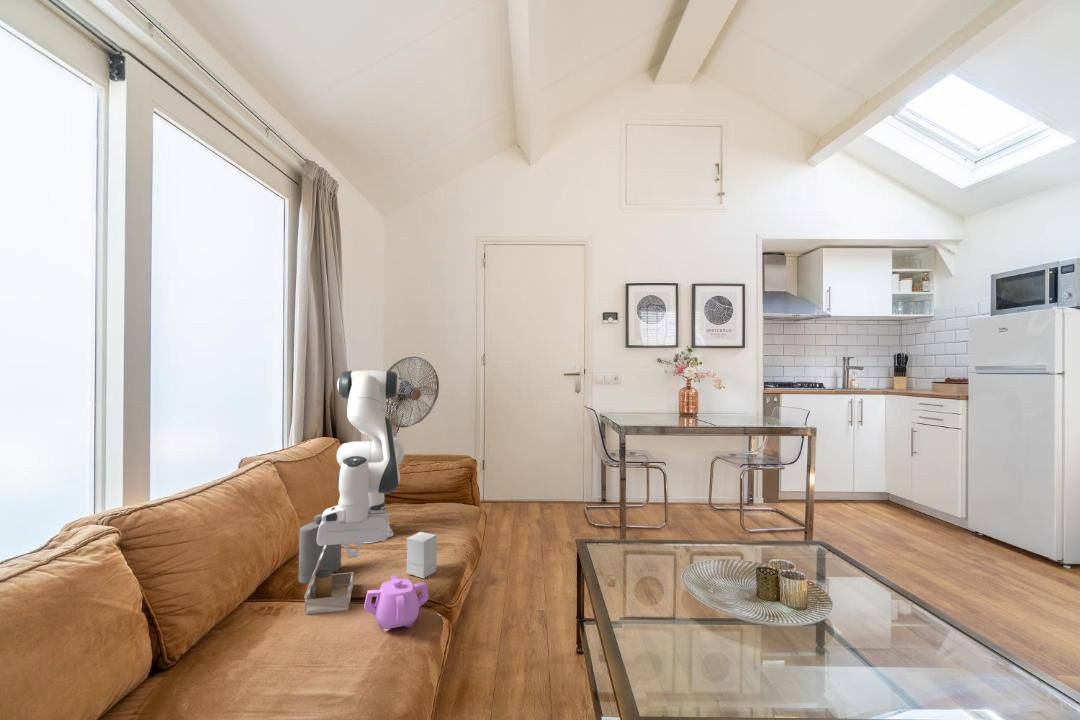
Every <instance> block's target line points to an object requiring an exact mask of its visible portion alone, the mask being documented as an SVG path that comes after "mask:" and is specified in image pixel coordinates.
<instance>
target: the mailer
mask: <svg viewBox="0 0 1080 720" xmlns="http://www.w3.org/2000/svg"><path fill="white" fill-rule="evenodd" d="M353 586H354V572H353V571H351V572H343V573H340V572H339V573H332V592H331V597H325V598H316V599H315V593H316V576H314V578H313V581H312V583H311V586H310V588H309V591H308V593H307V596H306V598H304V616H306V615H313V614H321V613H323V614H324V613H332V612H333V613H334V612H343V611H348V610H349V606H350V603H351V597H352V591H353V589H354V587H353Z"/></svg>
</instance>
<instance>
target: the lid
mask: <svg viewBox="0 0 1080 720" xmlns="http://www.w3.org/2000/svg"><path fill="white" fill-rule="evenodd" d="M325 548H326V545H324V547H323V550H322V552H321V555H320V557H319V560H318V562H317V565H316V567H315V570H314V572H313V575H312V578H311V580H310V582H309V583H308V586H307V589H306V591H305V594H304V596H303V599H306V596H307V594H308V591H309V588H310V586H311V583H312V581H313V578H314V576H315V573H316V571H317V568H318V566H319V563H320V561H321V558H322V556H323V553H324V551H325Z"/></svg>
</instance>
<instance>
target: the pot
mask: <svg viewBox="0 0 1080 720" xmlns="http://www.w3.org/2000/svg"><path fill="white" fill-rule="evenodd" d="M418 590H421V591H420V592H421V594H420V595H419V596H418V593H417V591H418ZM428 590H429V589H428V587H427V583H426V581H422V582H417V583H413V582H412V580H410V579H408V578H399V577H398V575H397V574H394V575H393V574H392V575H391V576H390V580H386V581H384V582H382V584H381V586H380V588H379V589H370V590H367V592H366V595H365V596H366V597H365V601H364V606H363V610H364V611H365V612H368V613H370V615H373V616H374V618H375V620H376V622H377V623H378V625H379V626H380V627H381V628H382V629H383V628H385V629H390V628H392V629H395V628H400V627H405V626H406V627H409V628H412V627H414V623H415V622H416V621H417V618H418V616H419V612H420V607H421V606H423V605H424V604H425V603H426V602H427V601H428V600H430V596H429V591H428ZM373 597H376V600H375V604H374V603H372V600H373ZM406 627H405V628H406Z"/></svg>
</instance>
